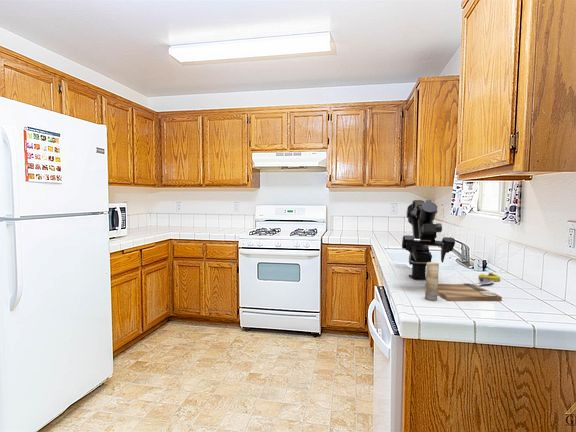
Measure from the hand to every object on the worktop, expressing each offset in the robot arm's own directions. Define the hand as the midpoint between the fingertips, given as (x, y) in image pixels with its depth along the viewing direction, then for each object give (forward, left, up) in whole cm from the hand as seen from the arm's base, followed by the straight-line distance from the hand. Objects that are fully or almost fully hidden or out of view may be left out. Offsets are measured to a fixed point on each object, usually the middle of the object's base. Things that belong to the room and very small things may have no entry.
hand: (429, 261), depth 128 cm
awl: (+6, -2, -13) cm, 14 cm away
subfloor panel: (0, +13, -12) cm, 18 cm away
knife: (-18, +35, -13) cm, 42 cm away
